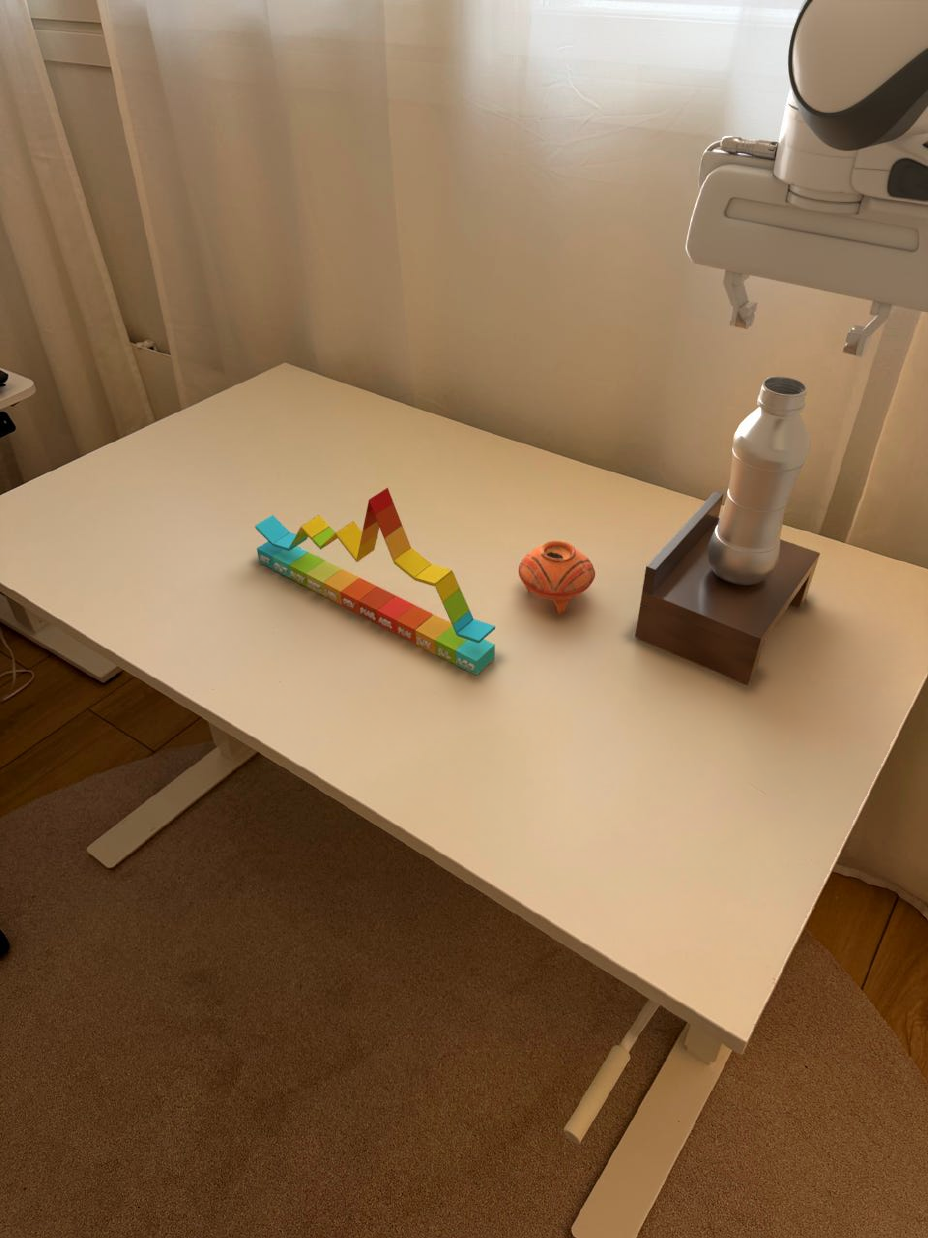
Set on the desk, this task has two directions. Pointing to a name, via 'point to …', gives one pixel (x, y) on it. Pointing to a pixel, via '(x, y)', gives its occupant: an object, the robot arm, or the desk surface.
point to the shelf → (717, 600)
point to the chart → (411, 622)
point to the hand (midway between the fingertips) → (796, 338)
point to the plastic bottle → (761, 483)
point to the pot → (556, 572)
